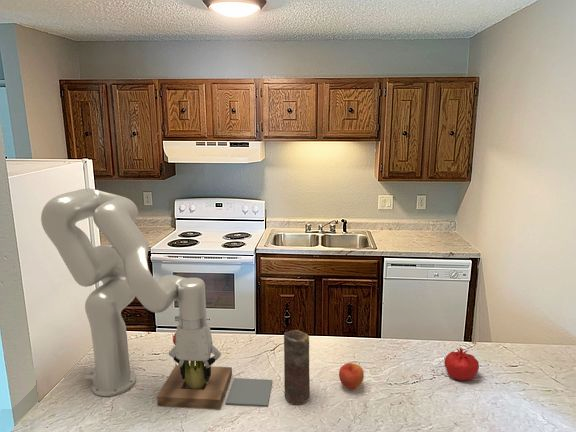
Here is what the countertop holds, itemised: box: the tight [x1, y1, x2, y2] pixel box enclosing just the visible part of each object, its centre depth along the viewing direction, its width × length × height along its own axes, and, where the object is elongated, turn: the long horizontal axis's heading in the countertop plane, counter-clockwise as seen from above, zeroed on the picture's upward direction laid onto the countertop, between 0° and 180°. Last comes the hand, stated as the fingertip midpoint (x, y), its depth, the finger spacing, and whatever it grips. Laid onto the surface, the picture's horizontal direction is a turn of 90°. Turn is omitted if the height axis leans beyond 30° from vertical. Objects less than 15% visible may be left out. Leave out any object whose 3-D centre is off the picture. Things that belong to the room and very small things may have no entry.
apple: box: [338, 362, 365, 391], centre depth 127 cm, size 7×7×8 cm
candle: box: [283, 329, 311, 405], centre depth 121 cm, size 8×7×20 cm
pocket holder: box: [156, 364, 233, 410], centre depth 126 cm, size 18×16×3 cm
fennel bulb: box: [184, 360, 208, 390], centre depth 125 cm, size 6×5×12 cm
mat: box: [225, 377, 273, 408], centre depth 125 cm, size 12×12×1 cm
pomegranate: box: [443, 347, 480, 381], centre depth 133 cm, size 10×10×9 cm
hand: (196, 376), depth 125 cm, fingers closed on fennel bulb, 6 cm apart
